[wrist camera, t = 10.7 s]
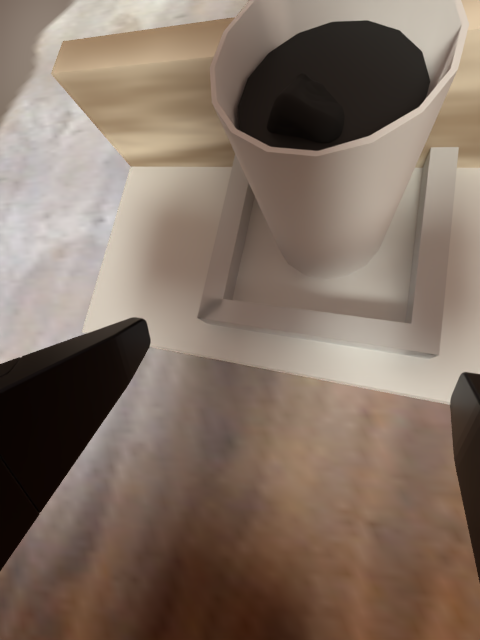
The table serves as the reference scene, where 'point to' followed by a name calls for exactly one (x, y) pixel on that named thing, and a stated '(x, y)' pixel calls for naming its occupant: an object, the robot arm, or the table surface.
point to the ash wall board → (195, 95)
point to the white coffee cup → (333, 115)
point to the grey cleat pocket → (300, 282)
